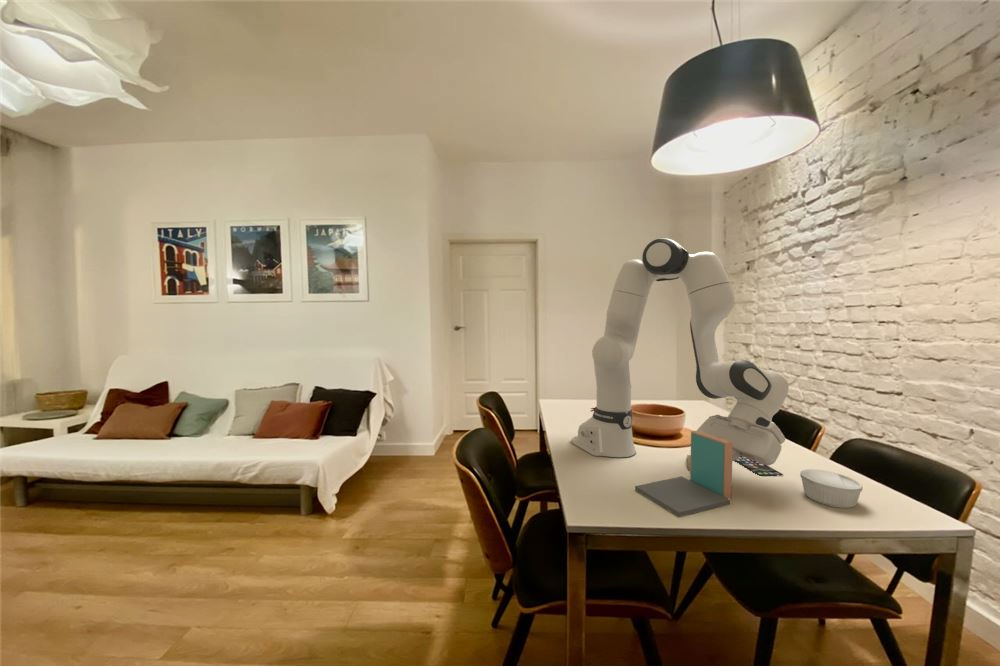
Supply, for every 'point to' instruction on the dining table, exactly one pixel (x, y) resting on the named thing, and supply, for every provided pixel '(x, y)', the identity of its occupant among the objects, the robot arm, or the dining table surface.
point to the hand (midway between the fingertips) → (719, 463)
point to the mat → (682, 496)
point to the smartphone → (757, 467)
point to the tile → (711, 462)
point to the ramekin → (831, 488)
